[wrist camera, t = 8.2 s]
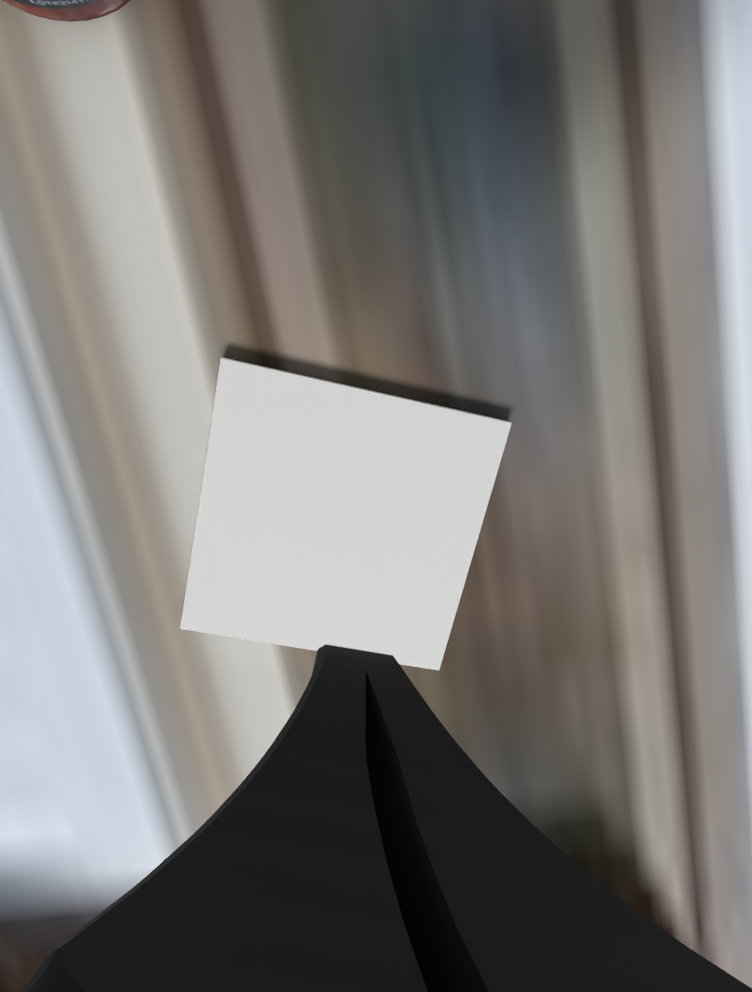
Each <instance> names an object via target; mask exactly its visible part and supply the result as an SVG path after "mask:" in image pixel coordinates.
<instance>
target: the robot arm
mask: <svg viewBox="0 0 752 992" xmlns="http://www.w3.org/2000/svg"><path fill="white" fill-rule="evenodd" d="M23 992H752V989H751V988H750V987H748V986H747V985H745V984H744V983H742V982H741V981H739V980H737V979H736V978H734V977H733V976H731V975H730V974H728V973H727V972H725V971H724V970H722V969H720V968H719V967H717V966H716V965H714V964H713V963H711V962H710V961H708V960H707V959H705V958H703V957H702V956H700V955H699V954H697V953H696V952H694V951H693V950H691V949H690V948H688V947H687V946H685V945H684V944H682V943H681V942H679V941H678V940H676V939H675V938H674V937H672V936H671V935H669V934H668V933H667V932H665V931H664V930H663V929H661V928H660V927H659V926H657V925H656V924H654V923H653V922H652V921H650V920H649V919H648V918H646V917H645V916H643V915H642V914H641V913H639V912H638V911H637V910H635V909H634V908H633V907H631V906H630V905H628V904H627V903H626V902H624V901H623V900H622V899H621V898H619V897H618V896H617V895H615V894H614V893H613V892H612V891H610V890H609V889H608V888H606V887H605V886H604V885H603V884H601V883H600V882H599V881H598V880H596V879H595V878H594V877H593V876H591V875H590V874H589V873H588V872H587V871H585V870H584V869H583V868H582V867H581V866H580V865H578V864H577V863H576V862H575V861H574V860H572V859H571V858H570V857H569V856H568V855H567V854H565V853H564V852H563V851H562V850H561V849H560V848H558V847H557V846H556V845H555V844H554V843H552V842H551V841H550V840H549V839H548V838H547V837H546V836H545V835H544V834H543V833H541V832H540V831H539V830H538V829H537V828H536V827H535V826H534V825H533V824H532V823H531V822H530V821H529V820H528V819H527V818H526V817H525V816H524V815H523V814H522V813H521V812H520V811H519V810H518V809H517V808H516V807H515V806H514V805H512V804H511V803H510V802H509V801H508V800H507V799H506V798H505V797H504V796H503V795H502V794H501V793H500V792H499V791H498V789H497V788H496V787H495V786H494V785H493V784H492V783H491V782H490V781H489V780H488V779H487V778H486V777H485V775H484V774H483V773H482V772H481V771H480V770H479V769H478V767H477V766H476V765H475V764H474V763H473V762H472V760H471V759H470V758H469V757H468V756H467V755H466V753H465V752H464V751H463V750H462V749H461V748H460V746H459V745H458V744H457V743H456V741H455V740H454V739H453V738H452V736H451V735H450V734H449V733H448V731H447V730H446V729H445V728H444V726H443V725H442V724H441V722H440V721H439V720H438V718H437V717H436V716H435V714H434V713H433V712H432V710H431V709H430V708H429V706H428V705H427V703H426V702H425V701H424V699H423V698H422V697H421V695H420V694H419V692H418V691H417V689H416V688H415V687H414V685H413V684H412V682H411V681H410V679H409V678H408V676H407V675H406V674H405V672H404V671H403V669H402V668H401V666H400V665H399V663H398V662H397V661H396V659H395V658H394V656H393V655H388V654H381V653H375V652H369V651H363V650H357V649H351V648H345V647H339V646H333V645H326V644H325V645H324V646H322V647H320V648H319V649H318V651H317V655H316V660H315V664H314V668H313V673H312V676H311V679H310V681H309V683H308V686H307V688H306V689H305V691H304V693H303V695H302V697H301V699H300V701H299V703H298V705H297V706H296V708H295V710H294V712H293V713H292V715H291V717H290V718H289V720H288V721H287V723H286V724H285V726H284V727H283V729H282V730H281V732H280V733H279V735H278V736H277V738H276V739H275V741H274V742H273V744H272V745H271V747H270V748H269V749H268V751H267V752H266V753H265V755H264V756H263V757H262V759H261V760H260V761H259V763H258V764H257V765H256V766H255V768H254V769H253V770H252V771H251V772H250V774H249V775H248V776H247V777H246V779H245V780H244V781H243V782H242V783H241V785H240V786H239V787H238V788H237V789H236V790H235V791H234V792H233V793H232V794H231V796H230V797H229V798H228V799H227V800H226V801H225V802H224V803H223V804H222V805H221V806H220V808H219V809H218V810H217V811H216V812H215V813H214V814H213V815H212V816H211V817H210V818H209V819H208V820H207V821H206V822H205V823H204V824H203V825H202V826H201V827H200V828H199V829H198V830H197V831H196V832H195V833H194V834H193V835H192V836H191V837H190V838H189V839H188V840H186V841H185V842H184V843H183V844H182V845H181V846H180V847H179V848H178V849H176V850H175V851H174V852H173V853H172V854H171V855H170V856H169V857H168V858H166V859H165V860H164V861H163V862H162V863H161V864H160V865H159V866H158V867H157V868H155V869H154V870H153V871H152V872H151V873H150V874H149V875H148V876H147V877H145V878H144V879H143V880H142V881H141V882H139V883H138V884H137V885H136V886H135V887H133V888H132V889H131V890H130V891H128V892H127V893H126V894H125V895H123V896H122V897H121V898H119V899H118V900H117V901H115V902H114V903H113V904H111V905H110V906H109V907H108V908H106V909H105V910H104V911H102V912H101V913H100V914H98V915H97V916H96V917H95V918H93V919H92V920H91V921H89V922H88V923H87V924H85V925H84V926H83V927H82V928H80V929H79V930H78V931H76V932H75V933H74V934H72V935H71V936H70V937H68V938H67V939H66V940H64V941H63V942H62V943H60V944H59V945H58V946H57V947H55V948H54V949H53V951H52V952H51V953H50V955H49V956H48V957H47V959H46V960H45V961H44V963H43V964H42V965H41V967H40V968H39V970H38V971H37V972H36V974H35V975H34V976H33V978H32V979H31V981H30V982H29V983H28V985H27V986H26V988H25V989H24V990H23Z"/></svg>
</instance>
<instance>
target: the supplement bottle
mask: <svg viewBox="0 0 752 992" xmlns="http://www.w3.org/2000/svg"><path fill="white" fill-rule="evenodd" d="M3 1H5V2H7V3H8V4H10V5H12V6H14V7H16V8H18V9H20V10H22V11H25V12H27V13H30V14H33V15H36V16H39V17H44V18H48V19H52V20H60V21H82V20H84V21H86V20H91V19H95V18H99V17H103V16H105V15H108V14H110V13H112V12H115V11H117V10H118V9H120V8H121V7H122V6H124V5H125V4H126V3H127V2H129V1H130V0H3Z"/></svg>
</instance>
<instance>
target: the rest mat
mask: <svg viewBox="0 0 752 992" xmlns="http://www.w3.org/2000/svg"><path fill="white" fill-rule="evenodd" d="M511 424H512V423H511V422H509V421H506V420H502V419H497V418H493V417H488V416H484V415H479V414H475V413H470V412H466V411H461V410H457V409H452V408H448V407H444V406H439V405H435V404H430V403H426V402H421V401H417V400H412V399H408V398H403V397H399V396H394V395H390V394H385V393H381V392H376V391H372V390H368V389H363V388H359V387H354V386H350V385H345V384H341V383H336V382H332V381H327V380H323V379H318V378H314V377H309V376H305V375H301V374H296V373H292V372H287V371H283V370H278V369H274V368H269V367H265V366H260V365H256V364H251V363H247V362H242V361H238V360H233V359H229V358H225V357H223V358H221V361H220V367H219V374H218V381H217V387H216V394H215V401H214V407H213V414H212V421H211V427H210V434H209V441H208V447H207V454H206V461H205V467H204V474H203V480H202V487H201V494H200V500H199V507H198V514H197V520H196V527H195V534H194V540H193V547H192V554H191V560H190V567H189V574H188V580H187V587H186V594H185V600H184V607H183V613H182V620H181V627H180V629H185V630H191V631H197V632H203V633H210V634H216V635H222V636H228V637H235V638H241V639H247V640H253V641H259V642H266V643H272V644H278V645H284V646H290V647H297V648H303V649H309V650H315V651H318V649H319V648H320V647H322V646H324V645H325V644H326V645H333V646H339V647H345V648H351V649H357V650H363V651H369V652H375V653H381V654H388V655H393V656H394V658H395V659H396V661H397V662H398V663H399V664H402V665H408V666H414V667H421V668H427V669H433V670H439V669H440V666H441V662H442V659H443V655H444V652H445V649H446V645H447V642H448V638H449V635H450V632H451V628H452V625H453V621H454V618H455V615H456V611H457V608H458V604H459V601H460V598H461V594H462V591H463V587H464V584H465V581H466V577H467V574H468V570H469V567H470V563H471V560H472V557H473V553H474V550H475V546H476V543H477V540H478V536H479V533H480V529H481V526H482V523H483V519H484V516H485V512H486V509H487V506H488V502H489V499H490V495H491V492H492V489H493V485H494V482H495V478H496V475H497V472H498V468H499V465H500V461H501V458H502V454H503V451H504V448H505V444H506V441H507V437H508V434H509V431H510V427H511Z"/></svg>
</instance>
